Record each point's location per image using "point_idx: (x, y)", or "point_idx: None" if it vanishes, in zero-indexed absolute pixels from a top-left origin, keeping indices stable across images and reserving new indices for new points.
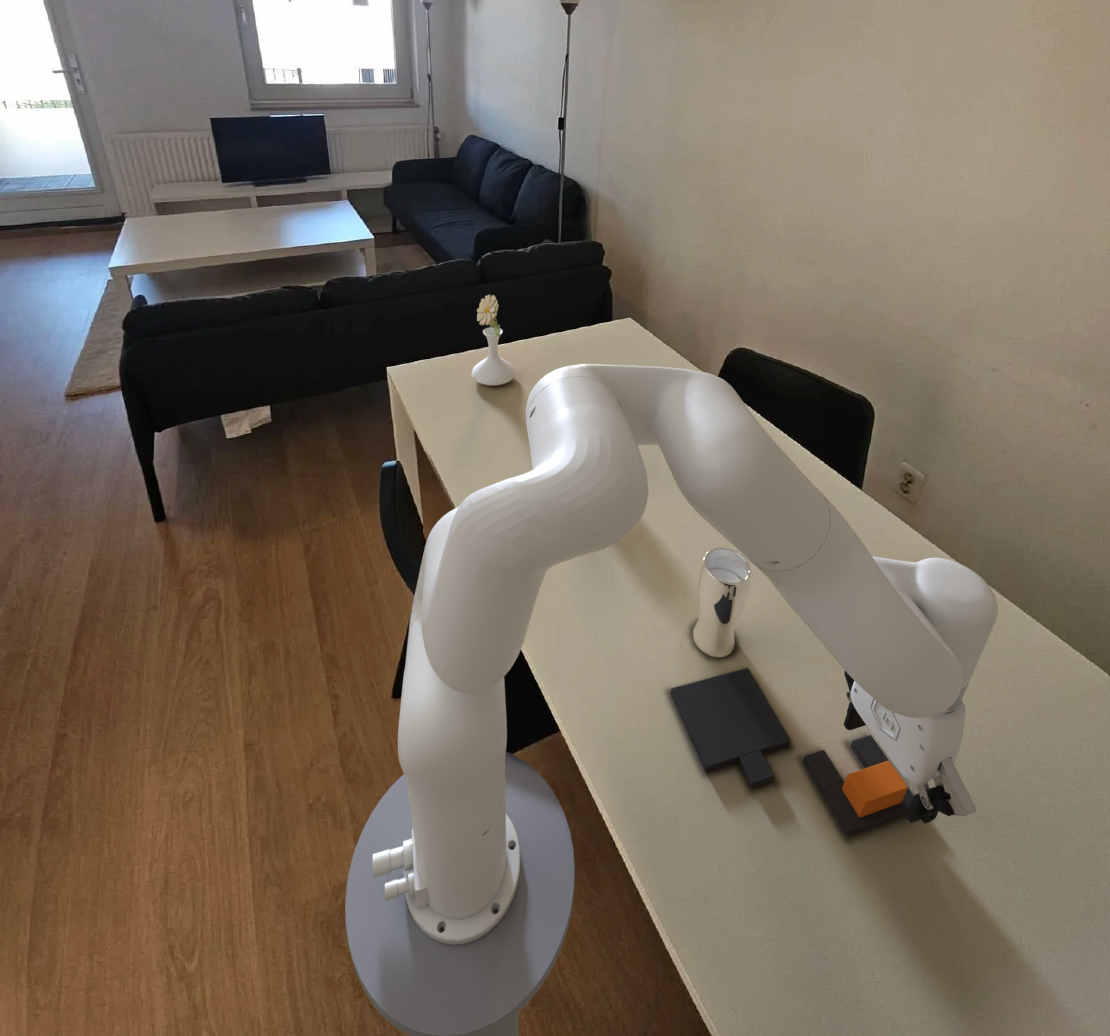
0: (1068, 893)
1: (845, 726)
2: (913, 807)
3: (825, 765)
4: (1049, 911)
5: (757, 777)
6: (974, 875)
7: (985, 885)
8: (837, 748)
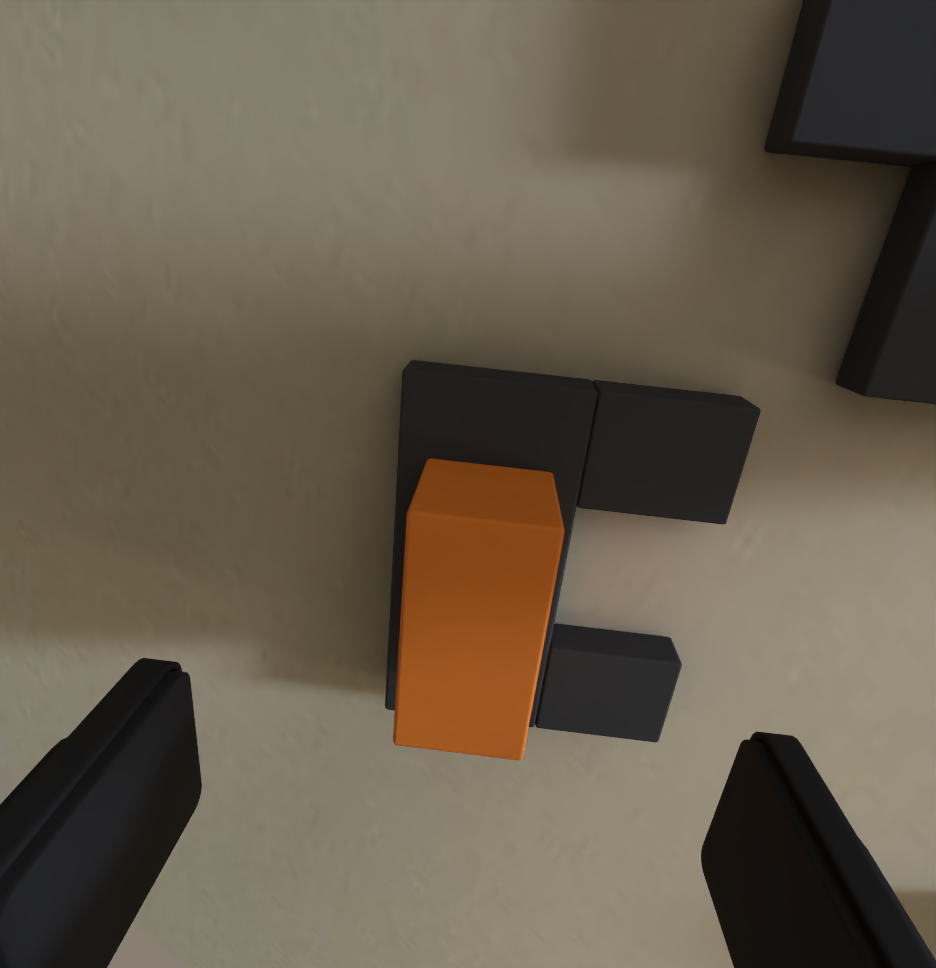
0: None
1: (782, 744)
2: (45, 786)
3: (670, 477)
4: None
5: (850, 3)
6: None
7: None
8: (693, 585)
